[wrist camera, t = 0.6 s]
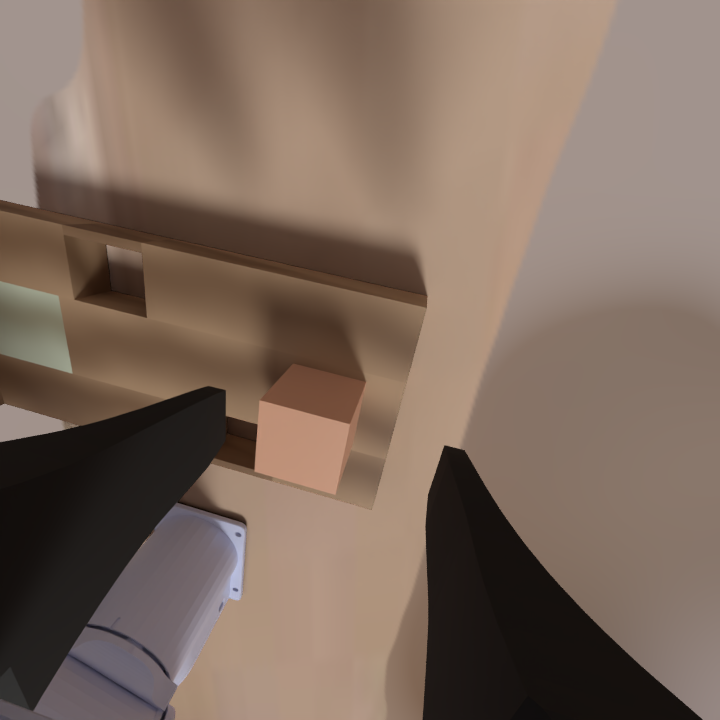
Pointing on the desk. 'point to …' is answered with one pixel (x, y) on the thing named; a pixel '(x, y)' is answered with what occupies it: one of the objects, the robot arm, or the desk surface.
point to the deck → (192, 333)
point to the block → (308, 427)
